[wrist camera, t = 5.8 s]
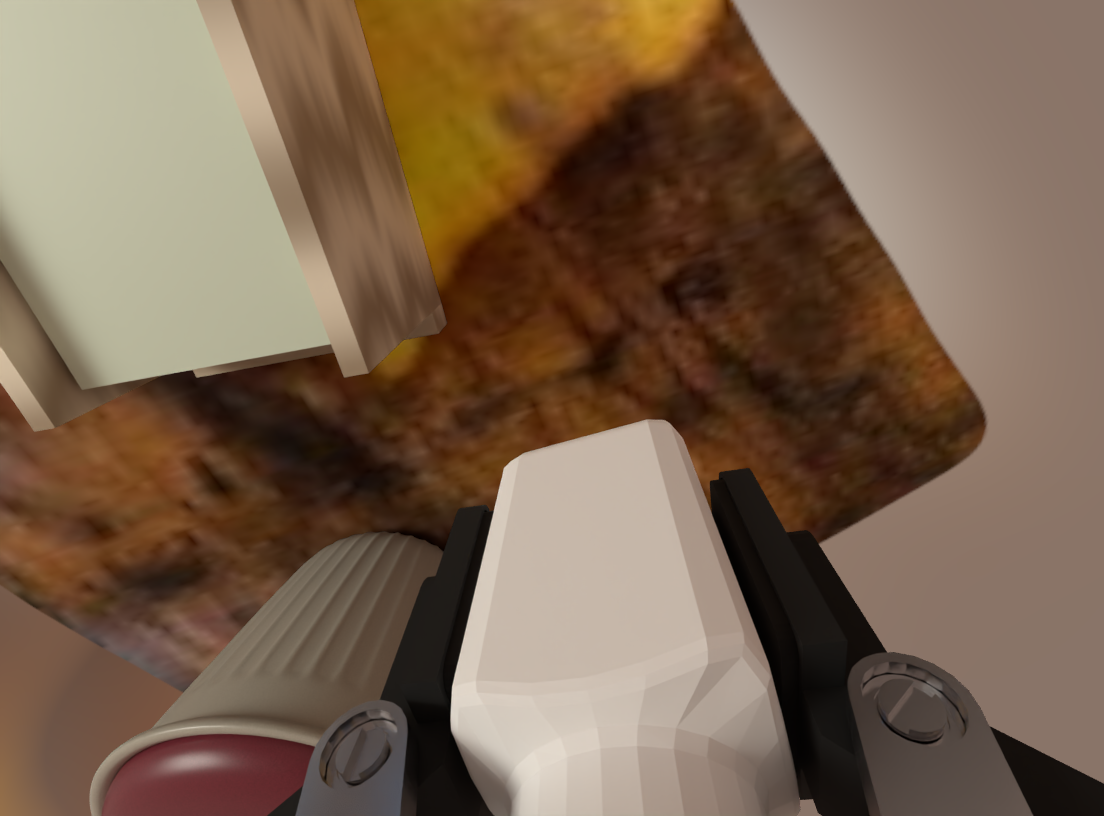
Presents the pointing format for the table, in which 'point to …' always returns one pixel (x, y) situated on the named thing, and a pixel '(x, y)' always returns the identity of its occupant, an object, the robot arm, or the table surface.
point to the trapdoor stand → (287, 201)
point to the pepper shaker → (615, 645)
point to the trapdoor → (138, 195)
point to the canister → (274, 687)
